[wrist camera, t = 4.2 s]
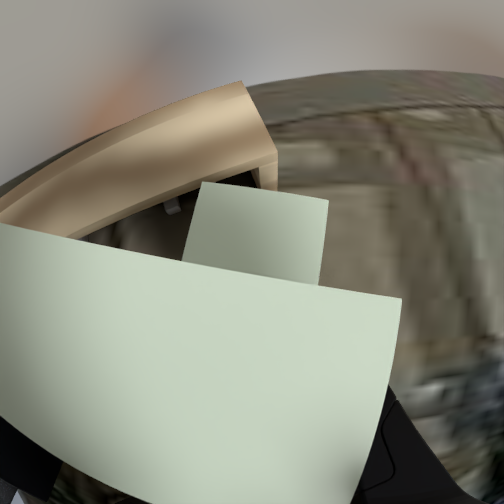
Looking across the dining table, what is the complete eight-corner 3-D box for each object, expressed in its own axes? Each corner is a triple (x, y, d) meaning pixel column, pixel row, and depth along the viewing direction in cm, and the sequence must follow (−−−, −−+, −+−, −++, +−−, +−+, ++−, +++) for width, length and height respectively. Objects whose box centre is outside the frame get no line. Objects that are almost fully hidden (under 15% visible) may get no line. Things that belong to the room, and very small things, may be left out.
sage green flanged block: (296, 372, 13) (380, 531, 2) (176, 347, 14) (-44, 373, 2) (322, 215, 15) (399, 3, 4) (210, 198, 16) (117, -3, 4)
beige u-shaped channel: (277, 194, 22) (277, 152, 16) (29, 292, 22) (-15, 281, 16) (247, 128, 24) (241, 80, 18) (24, 228, 23) (-14, 209, 18)
